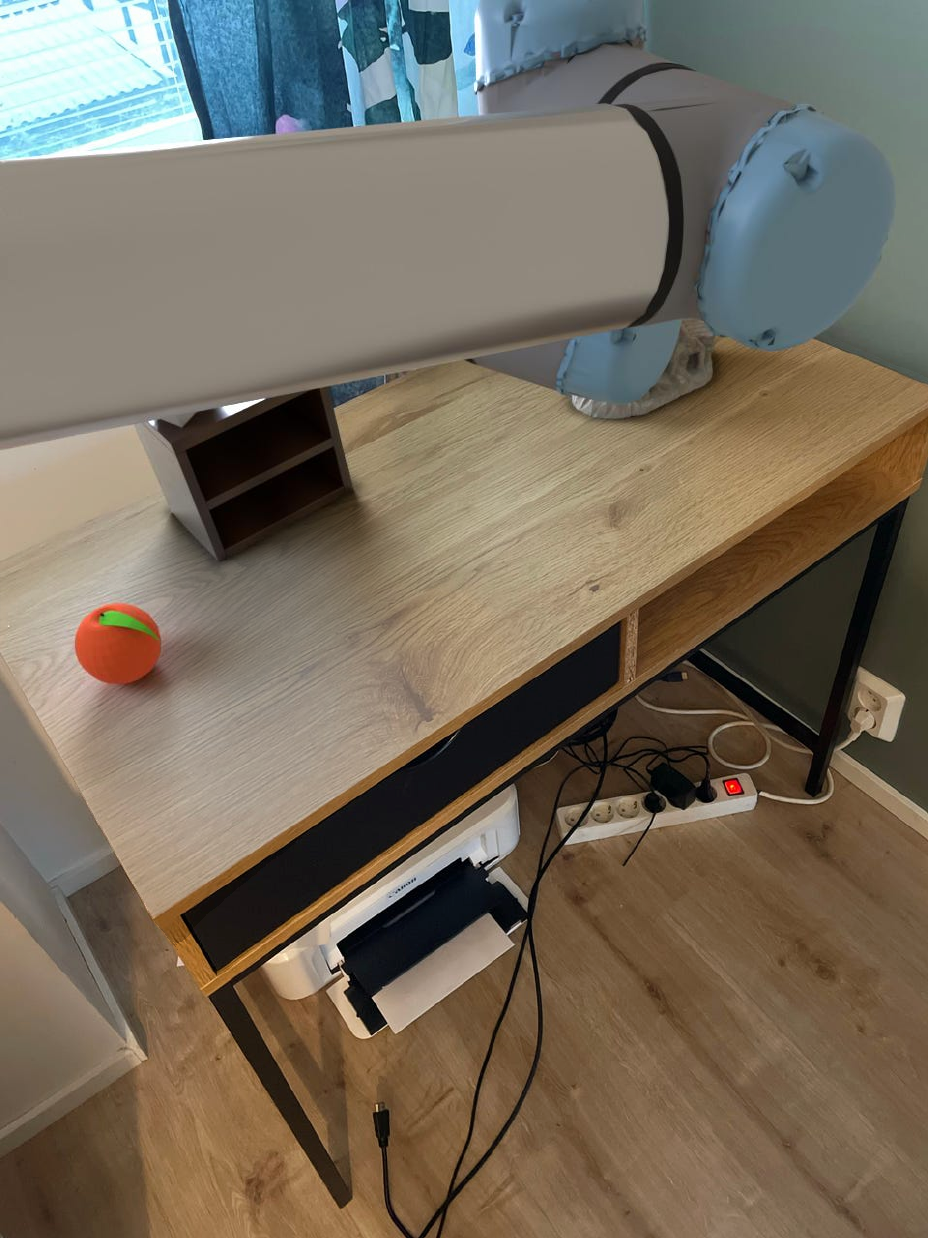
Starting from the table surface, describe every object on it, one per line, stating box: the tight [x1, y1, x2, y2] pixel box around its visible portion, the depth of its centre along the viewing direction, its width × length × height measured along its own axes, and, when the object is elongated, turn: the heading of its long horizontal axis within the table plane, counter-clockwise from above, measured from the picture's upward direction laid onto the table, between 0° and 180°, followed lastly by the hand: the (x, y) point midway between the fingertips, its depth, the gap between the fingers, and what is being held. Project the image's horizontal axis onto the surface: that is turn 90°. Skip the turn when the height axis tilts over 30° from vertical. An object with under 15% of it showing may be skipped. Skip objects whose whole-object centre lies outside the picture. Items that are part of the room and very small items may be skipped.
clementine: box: [74, 602, 162, 685], centre depth 76 cm, size 8×7×7 cm
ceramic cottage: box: [571, 318, 717, 420], centre depth 98 cm, size 16×16×15 cm
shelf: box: [133, 386, 354, 562], centre depth 89 cm, size 16×11×14 cm
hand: (200, 225), depth 64 cm, fingers open, 13 cm apart
